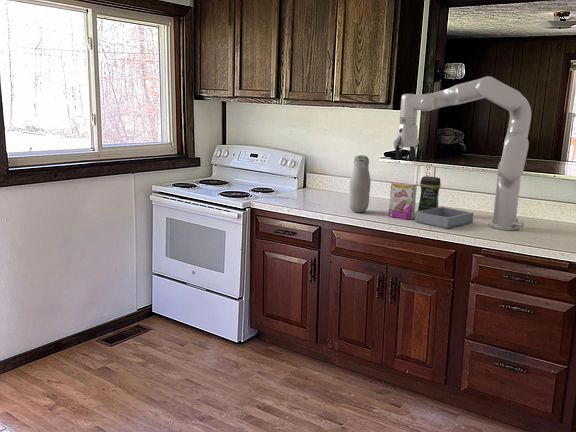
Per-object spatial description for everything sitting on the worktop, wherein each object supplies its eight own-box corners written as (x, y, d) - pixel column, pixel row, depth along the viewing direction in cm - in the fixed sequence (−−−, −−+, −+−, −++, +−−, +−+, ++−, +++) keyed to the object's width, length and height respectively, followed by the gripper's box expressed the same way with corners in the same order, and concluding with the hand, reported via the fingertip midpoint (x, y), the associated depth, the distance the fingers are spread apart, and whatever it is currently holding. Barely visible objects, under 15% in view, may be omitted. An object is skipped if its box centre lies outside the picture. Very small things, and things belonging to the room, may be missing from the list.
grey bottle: (346, 213, 270) (349, 155, 264) (350, 209, 279) (353, 153, 273) (366, 214, 267) (369, 156, 261) (370, 210, 276) (373, 154, 270)
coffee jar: (416, 214, 270) (419, 176, 266) (419, 211, 277) (422, 174, 273) (436, 216, 266) (439, 178, 262) (439, 213, 273) (442, 176, 269)
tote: (472, 223, 253) (473, 212, 252) (447, 229, 241) (448, 218, 240) (440, 216, 266) (441, 206, 265) (415, 222, 253) (416, 211, 252)
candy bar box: (388, 217, 263) (390, 183, 259) (392, 215, 267) (394, 181, 263) (410, 220, 257) (413, 185, 253) (414, 218, 261) (417, 184, 257)
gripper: (402, 122, 244) (399, 161, 247) (426, 121, 255) (423, 158, 258) (389, 121, 249) (386, 159, 253) (413, 121, 260) (410, 157, 264)
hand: (405, 159), depth 256 cm, fingers open, 9 cm apart
